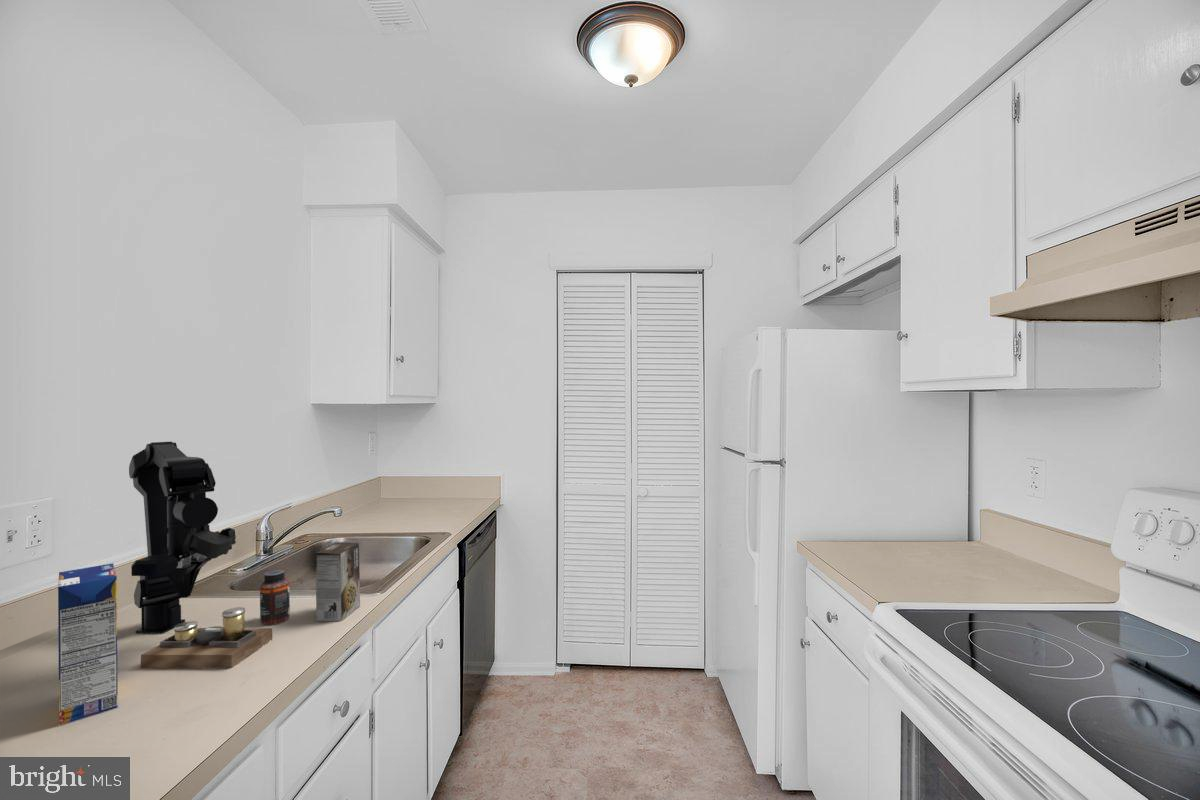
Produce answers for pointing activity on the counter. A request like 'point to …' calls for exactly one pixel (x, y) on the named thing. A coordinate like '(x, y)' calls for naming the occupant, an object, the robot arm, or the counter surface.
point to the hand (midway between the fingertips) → (186, 596)
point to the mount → (205, 651)
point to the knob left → (186, 631)
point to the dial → (208, 634)
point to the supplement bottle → (274, 598)
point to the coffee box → (337, 581)
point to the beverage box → (87, 642)
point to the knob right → (233, 624)
